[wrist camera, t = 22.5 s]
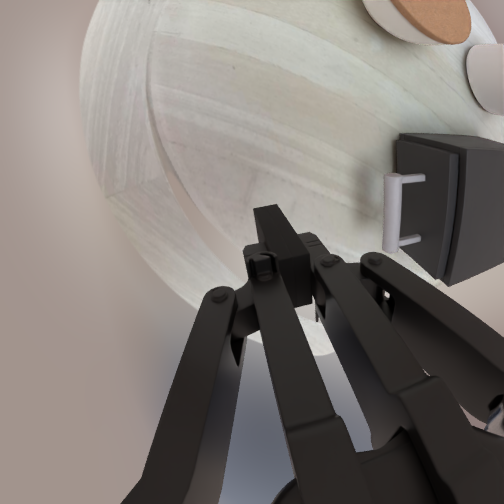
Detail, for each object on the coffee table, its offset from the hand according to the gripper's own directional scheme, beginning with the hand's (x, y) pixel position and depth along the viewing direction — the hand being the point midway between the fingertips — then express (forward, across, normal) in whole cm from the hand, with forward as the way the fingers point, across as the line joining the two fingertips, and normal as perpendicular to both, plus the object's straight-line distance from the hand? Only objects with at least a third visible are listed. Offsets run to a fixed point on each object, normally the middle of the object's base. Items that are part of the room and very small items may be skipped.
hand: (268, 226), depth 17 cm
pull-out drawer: (+7, +20, -2) cm, 21 cm away
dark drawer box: (+8, +24, -2) cm, 25 cm away
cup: (+8, +34, +13) cm, 37 cm away
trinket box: (+9, +18, +19) cm, 27 cm away
